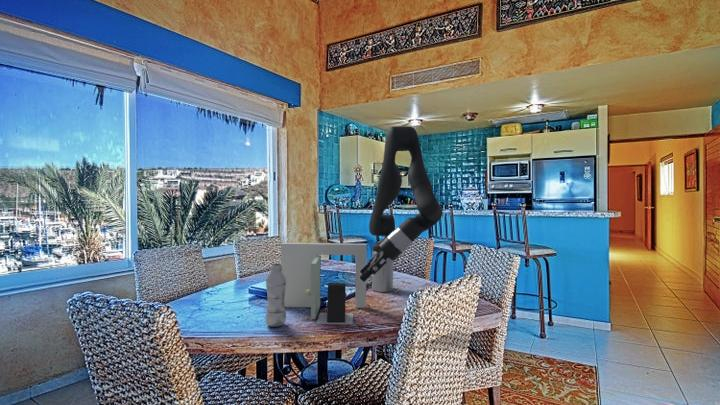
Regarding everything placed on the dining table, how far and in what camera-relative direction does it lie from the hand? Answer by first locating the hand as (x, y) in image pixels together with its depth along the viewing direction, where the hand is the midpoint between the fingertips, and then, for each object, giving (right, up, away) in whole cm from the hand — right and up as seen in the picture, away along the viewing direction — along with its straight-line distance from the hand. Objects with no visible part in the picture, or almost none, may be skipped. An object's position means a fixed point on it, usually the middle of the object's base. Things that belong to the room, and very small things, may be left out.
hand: (361, 276), depth 131 cm
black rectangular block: (-9, -15, +1) cm, 17 cm away
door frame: (-14, -14, +5) cm, 21 cm away
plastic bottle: (-28, -15, -6) cm, 32 cm away
